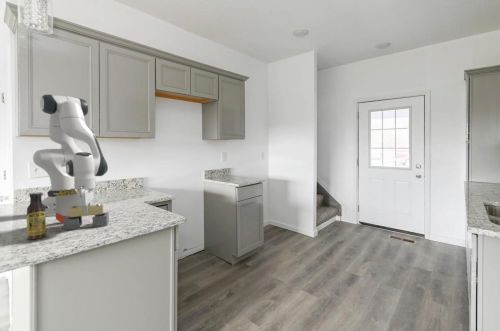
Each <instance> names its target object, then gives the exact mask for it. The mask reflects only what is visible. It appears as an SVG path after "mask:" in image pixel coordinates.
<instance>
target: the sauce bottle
mask: <svg viewBox="0 0 500 331" xmlns="http://www.w3.org/2000/svg"><path fill="white" fill-rule="evenodd" d="M42 196H43V193H42V192H30V193H29V199H30V200H29V205H28V207H27V208H26V235H27V239H28V240H38V239H42V238H44V237H45V236H46V232H47V230H46V229H47V227H46V226H47V224H46V217H47V216H45V206H44V205H43V204H42V201H43V199H42Z"/></svg>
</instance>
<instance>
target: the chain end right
mask: <svg viewBox="0 0 500 331" xmlns="http://www.w3.org/2000/svg"><path fill="white" fill-rule="evenodd" d="M109 221H110V218H109V212H103V214H99V215H93V216H92V228H101V227H108V224H109Z"/></svg>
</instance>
